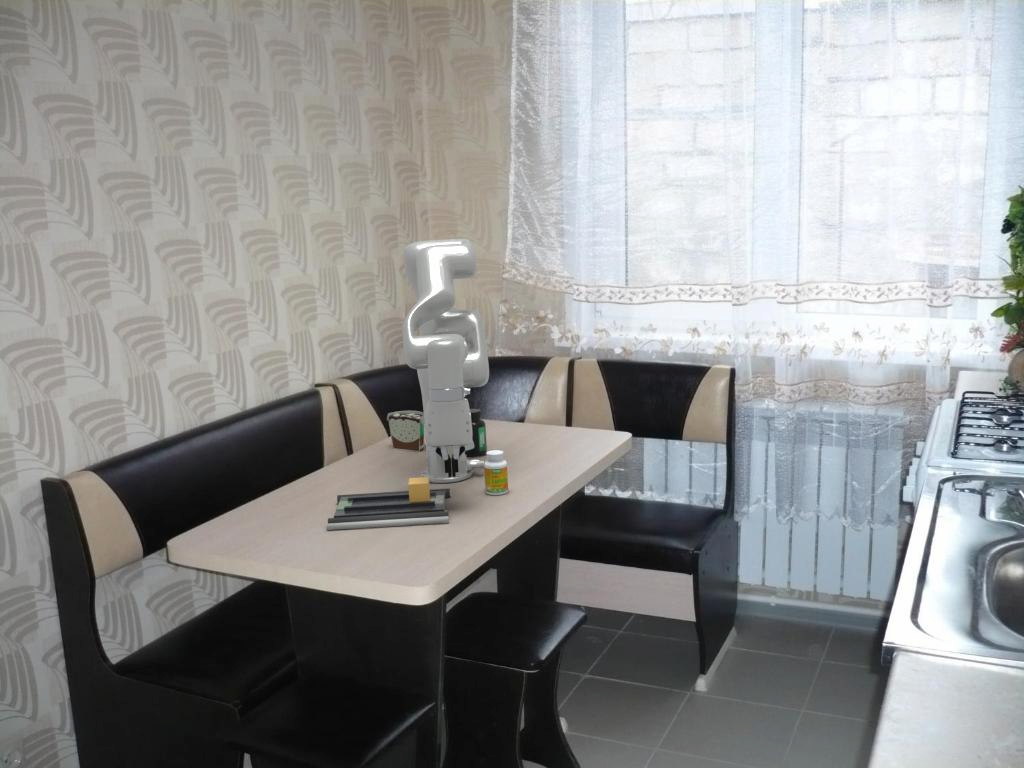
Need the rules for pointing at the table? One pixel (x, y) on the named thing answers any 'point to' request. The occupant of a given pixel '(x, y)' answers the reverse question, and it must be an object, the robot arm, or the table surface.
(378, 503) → the railed metal tray
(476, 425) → the supplement bottle
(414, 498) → the toggle
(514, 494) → the table surface
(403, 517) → the pair of dark bars
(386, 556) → the table surface
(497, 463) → the supplement bottle
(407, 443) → the food container
